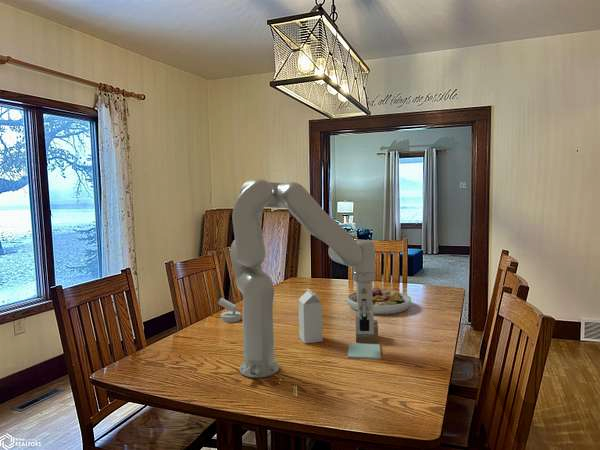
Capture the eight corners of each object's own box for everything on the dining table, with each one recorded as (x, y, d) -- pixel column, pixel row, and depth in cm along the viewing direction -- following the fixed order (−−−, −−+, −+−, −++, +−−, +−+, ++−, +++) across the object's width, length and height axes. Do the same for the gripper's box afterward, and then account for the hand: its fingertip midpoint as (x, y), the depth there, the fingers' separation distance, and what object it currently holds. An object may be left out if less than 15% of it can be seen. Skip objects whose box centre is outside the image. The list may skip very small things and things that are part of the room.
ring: (373, 334, 143) (373, 316, 142) (355, 333, 143) (355, 316, 143) (373, 328, 148) (373, 311, 148) (356, 327, 149) (355, 311, 149)
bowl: (424, 311, 193) (424, 294, 193) (367, 320, 182) (367, 302, 182) (387, 296, 221) (387, 282, 220) (336, 303, 210) (336, 288, 209)
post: (378, 342, 155) (377, 302, 153) (356, 342, 156) (355, 302, 155) (377, 335, 163) (377, 297, 161) (356, 334, 164) (356, 296, 162)
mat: (381, 359, 140) (381, 357, 140) (347, 357, 141) (347, 356, 141) (379, 345, 152) (379, 344, 152) (349, 344, 153) (349, 343, 153)
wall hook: (223, 295, 192) (243, 296, 188) (224, 315, 192) (244, 317, 189) (213, 300, 184) (234, 301, 180) (214, 321, 184) (235, 323, 181)
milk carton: (304, 344, 155) (303, 293, 153) (299, 337, 162) (298, 289, 160) (322, 341, 157) (321, 291, 155) (316, 335, 164) (316, 287, 162)
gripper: (375, 281, 135) (376, 336, 137) (374, 271, 152) (374, 320, 154) (352, 281, 136) (353, 336, 138) (353, 271, 153) (354, 319, 155)
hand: (364, 327), depth 146 cm, fingers closed on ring, 6 cm apart
